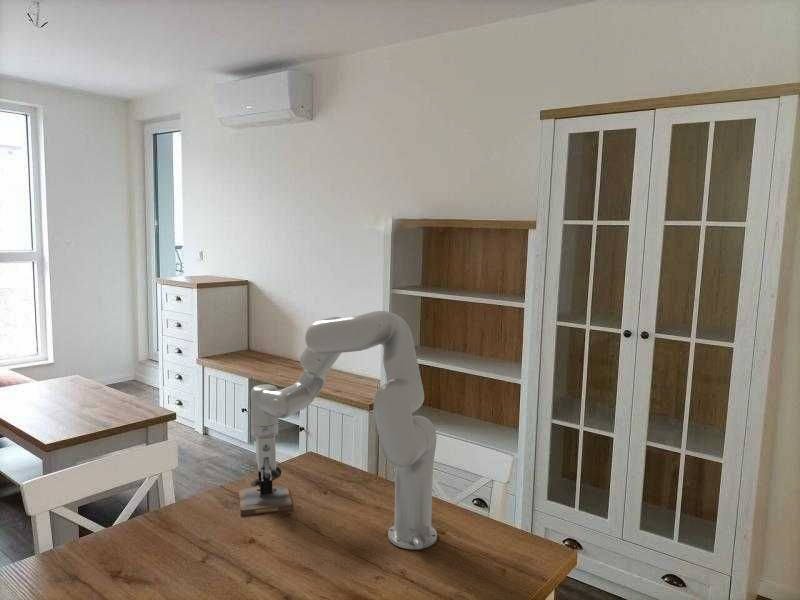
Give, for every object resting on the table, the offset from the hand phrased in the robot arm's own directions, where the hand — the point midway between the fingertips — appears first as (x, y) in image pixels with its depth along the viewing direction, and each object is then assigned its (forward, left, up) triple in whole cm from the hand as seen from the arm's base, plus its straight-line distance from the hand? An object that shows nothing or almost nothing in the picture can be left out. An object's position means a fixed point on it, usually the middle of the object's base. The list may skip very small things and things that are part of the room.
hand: (265, 487), depth 169 cm
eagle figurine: (+1, -1, -2) cm, 3 cm away
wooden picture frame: (0, 0, -4) cm, 4 cm away
